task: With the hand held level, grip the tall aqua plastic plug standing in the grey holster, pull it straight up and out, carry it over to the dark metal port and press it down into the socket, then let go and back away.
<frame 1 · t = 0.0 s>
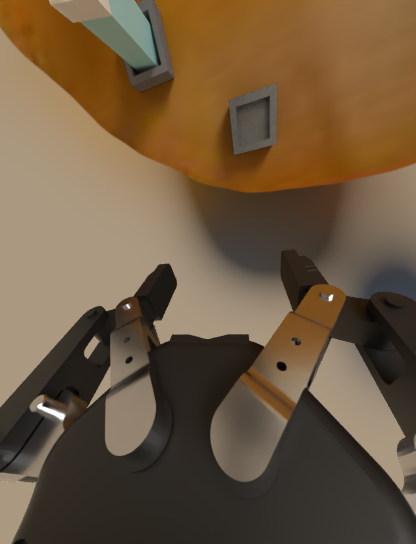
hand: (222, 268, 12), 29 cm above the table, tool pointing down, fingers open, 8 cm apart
holster: (149, 55, 26), on the table
port: (251, 126, 29), on the table
plug: (110, 11, 18), in the holster
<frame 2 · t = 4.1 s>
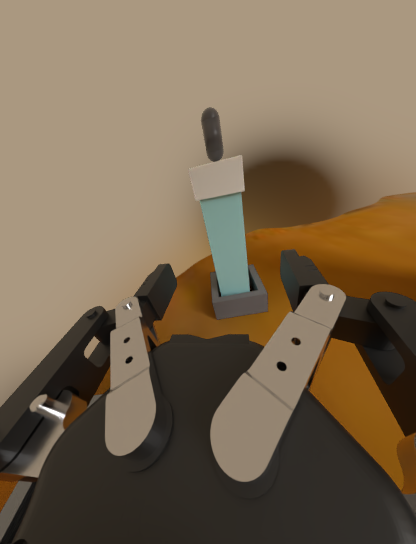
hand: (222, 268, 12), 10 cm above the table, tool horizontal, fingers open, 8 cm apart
holster: (237, 298, 23), on the table
port: (109, 470, 12), on the table
plug: (227, 232, 18), in the holster
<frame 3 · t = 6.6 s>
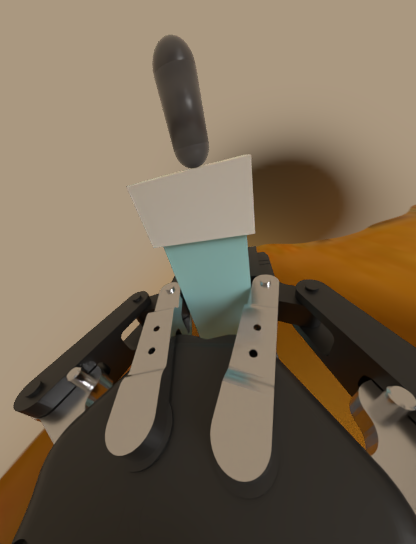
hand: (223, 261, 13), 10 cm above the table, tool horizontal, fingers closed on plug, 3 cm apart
plug: (221, 285, 10), in the holster, touching gripper
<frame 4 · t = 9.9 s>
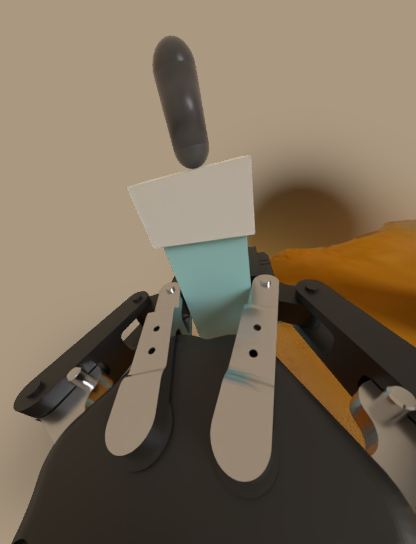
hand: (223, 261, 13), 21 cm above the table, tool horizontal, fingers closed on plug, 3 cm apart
plug: (221, 286, 10), point 21 cm above the table, touching gripper
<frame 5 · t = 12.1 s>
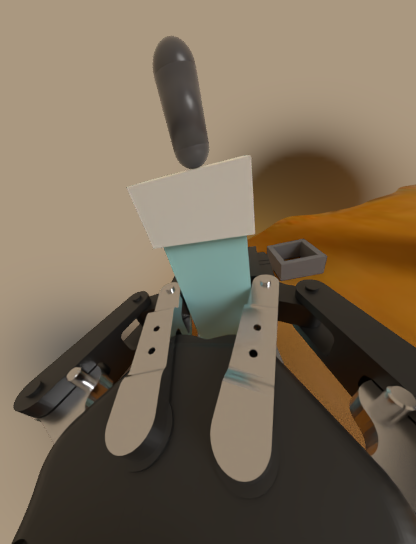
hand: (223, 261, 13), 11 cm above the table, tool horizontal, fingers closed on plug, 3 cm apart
holster: (292, 266, 28), on the table
plug: (221, 286, 10), point 11 cm above the table, touching gripper, port
when the fingers open (11 cm above the table, at t = 13.4 s): plug stays where it is, resting on port.
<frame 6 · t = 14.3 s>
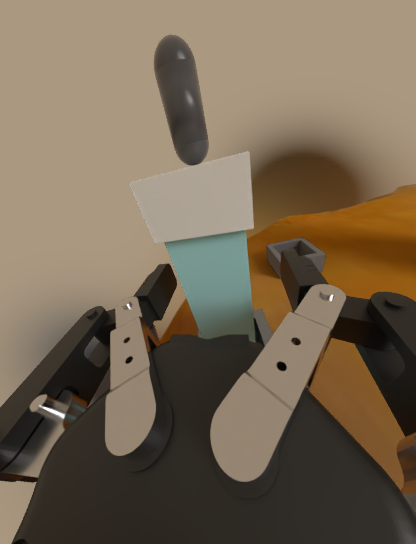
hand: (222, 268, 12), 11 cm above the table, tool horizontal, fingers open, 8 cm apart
holster: (291, 264, 28), on the table
port: (239, 363, 17), on the table
plug: (221, 281, 11), in the port, point 11 cm above the table
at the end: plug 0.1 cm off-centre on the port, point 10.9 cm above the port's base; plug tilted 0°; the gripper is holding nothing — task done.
